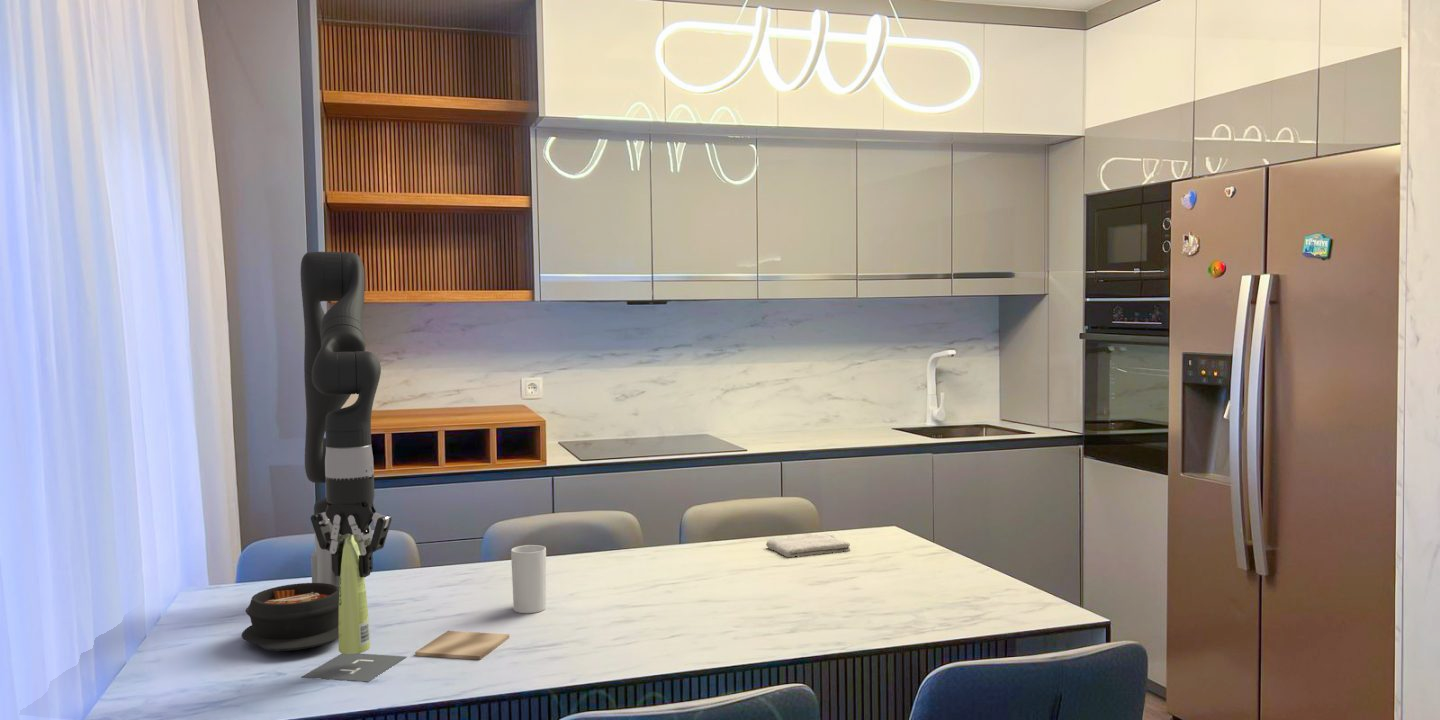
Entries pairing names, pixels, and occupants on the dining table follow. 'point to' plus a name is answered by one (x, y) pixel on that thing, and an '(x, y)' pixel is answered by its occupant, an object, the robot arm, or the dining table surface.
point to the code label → (355, 667)
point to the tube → (352, 603)
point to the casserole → (294, 616)
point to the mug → (529, 578)
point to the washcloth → (807, 545)
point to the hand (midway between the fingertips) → (352, 575)
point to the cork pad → (462, 645)
